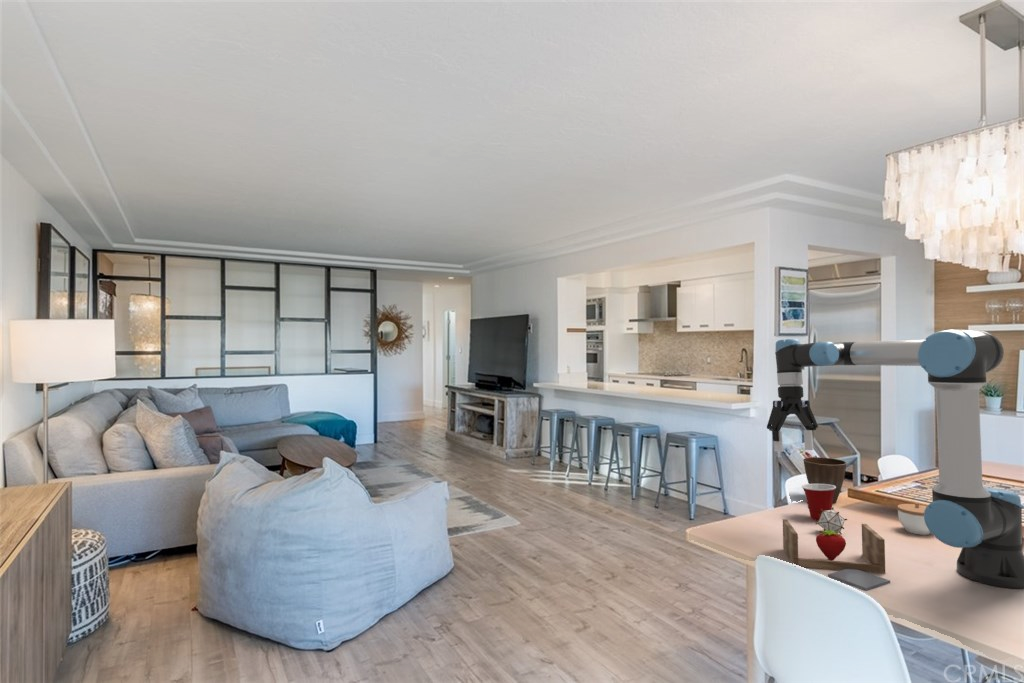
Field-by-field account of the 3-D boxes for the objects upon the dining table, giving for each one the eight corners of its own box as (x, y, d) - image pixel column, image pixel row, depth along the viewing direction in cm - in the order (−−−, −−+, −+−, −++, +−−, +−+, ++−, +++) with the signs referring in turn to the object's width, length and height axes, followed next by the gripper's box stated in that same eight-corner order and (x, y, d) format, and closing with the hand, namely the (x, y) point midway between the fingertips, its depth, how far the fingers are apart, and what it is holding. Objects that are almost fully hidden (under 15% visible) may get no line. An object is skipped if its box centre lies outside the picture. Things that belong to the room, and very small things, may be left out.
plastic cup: (808, 513, 206) (808, 480, 206) (841, 519, 198) (840, 485, 198) (797, 519, 198) (796, 485, 199) (830, 525, 190) (829, 490, 191)
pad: (890, 582, 144) (890, 580, 144) (866, 590, 139) (866, 588, 139) (852, 569, 153) (852, 567, 153) (828, 576, 148) (828, 574, 148)
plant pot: (850, 500, 222) (849, 459, 222) (844, 508, 211) (843, 466, 211) (808, 494, 232) (807, 455, 232) (800, 502, 220) (799, 461, 220)
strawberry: (848, 566, 155) (847, 529, 155) (817, 562, 158) (816, 527, 158) (844, 558, 161) (843, 523, 161) (815, 555, 164) (814, 521, 164)
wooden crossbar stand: (783, 549, 169) (782, 519, 169) (867, 555, 163) (866, 524, 163) (793, 566, 156) (792, 533, 156) (885, 573, 150) (884, 539, 150)
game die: (838, 546, 181) (854, 527, 175) (811, 536, 183) (826, 516, 177) (835, 526, 188) (850, 506, 183) (809, 515, 190) (823, 496, 184)
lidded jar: (943, 532, 182) (943, 503, 182) (930, 539, 176) (929, 509, 176) (906, 524, 191) (905, 497, 191) (892, 530, 184) (891, 502, 185)
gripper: (807, 386, 194) (811, 448, 192) (752, 386, 185) (756, 451, 182) (827, 385, 187) (831, 450, 185) (771, 385, 178) (775, 453, 175)
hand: (794, 450), depth 183 cm, fingers open, 13 cm apart
